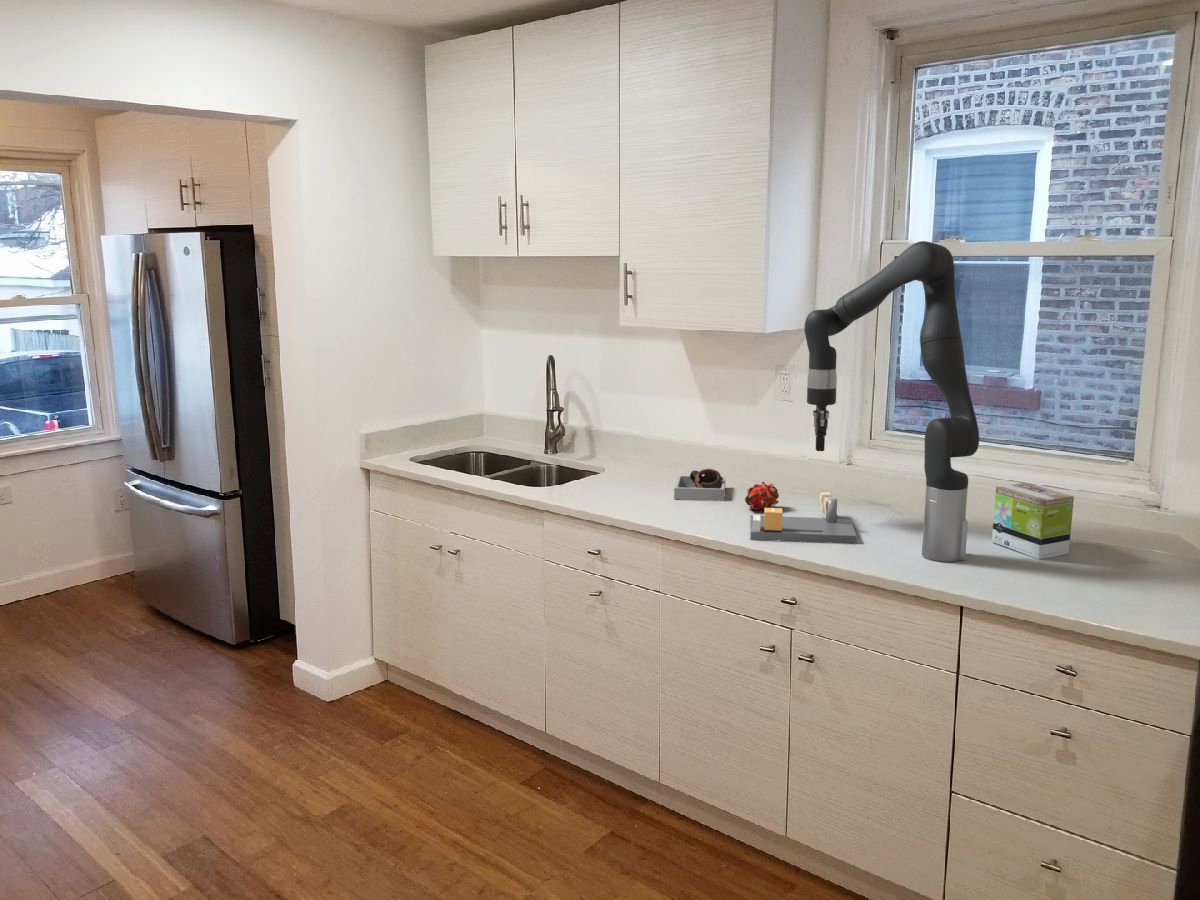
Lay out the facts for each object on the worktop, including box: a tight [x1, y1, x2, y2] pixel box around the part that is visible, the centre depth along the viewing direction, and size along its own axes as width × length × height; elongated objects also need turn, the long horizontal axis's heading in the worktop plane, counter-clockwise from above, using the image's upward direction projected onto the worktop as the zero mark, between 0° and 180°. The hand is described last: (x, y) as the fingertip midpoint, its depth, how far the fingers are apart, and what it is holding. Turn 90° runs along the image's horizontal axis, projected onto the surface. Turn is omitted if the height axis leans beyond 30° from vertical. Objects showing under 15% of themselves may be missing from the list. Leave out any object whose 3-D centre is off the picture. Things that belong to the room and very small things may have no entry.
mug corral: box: [673, 475, 727, 502], centre depth 287 cm, size 15×17×4 cm
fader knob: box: [763, 507, 784, 530], centre depth 240 cm, size 4×4×5 cm
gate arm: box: [818, 490, 834, 518], centre depth 255 cm, size 12×2×4 cm, turn 175°
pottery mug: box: [689, 468, 723, 489], centre depth 289 cm, size 12×10×8 cm
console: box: [749, 497, 858, 544], centre depth 244 cm, size 26×16×8 cm, turn 81°
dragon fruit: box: [744, 481, 780, 511], centre depth 267 cm, size 8×8×12 cm
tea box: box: [991, 482, 1075, 560], centre depth 228 cm, size 15×10×15 cm, turn 23°
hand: (819, 450), depth 252 cm, fingers closed
